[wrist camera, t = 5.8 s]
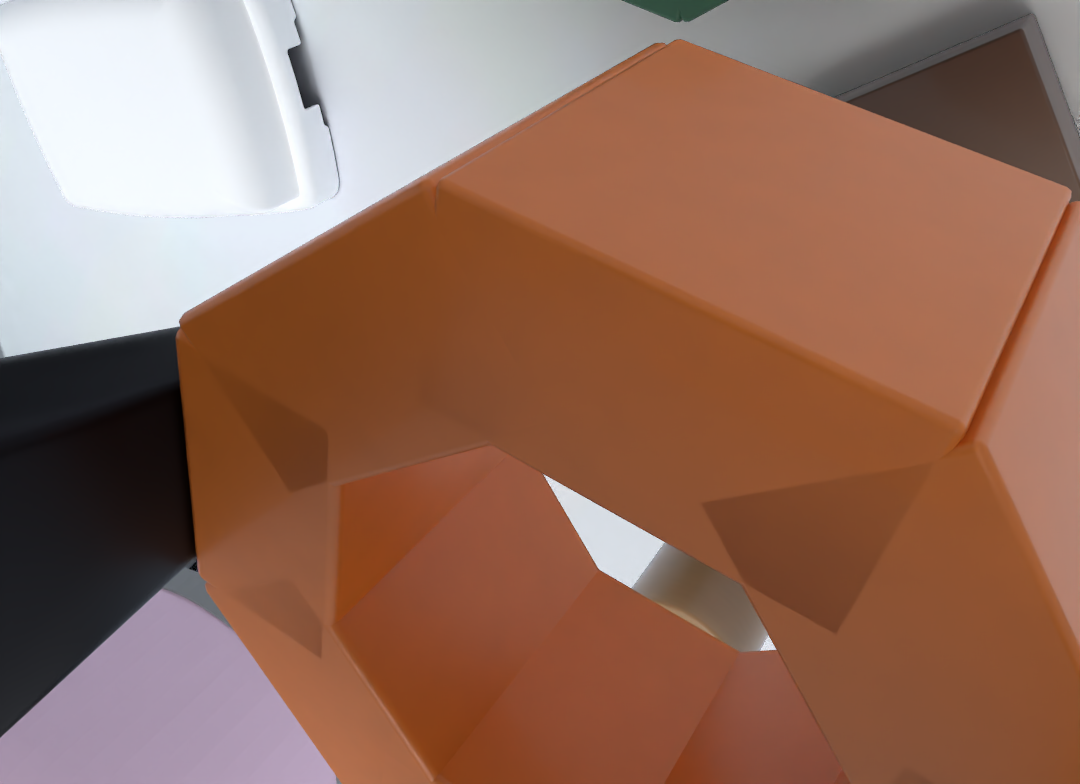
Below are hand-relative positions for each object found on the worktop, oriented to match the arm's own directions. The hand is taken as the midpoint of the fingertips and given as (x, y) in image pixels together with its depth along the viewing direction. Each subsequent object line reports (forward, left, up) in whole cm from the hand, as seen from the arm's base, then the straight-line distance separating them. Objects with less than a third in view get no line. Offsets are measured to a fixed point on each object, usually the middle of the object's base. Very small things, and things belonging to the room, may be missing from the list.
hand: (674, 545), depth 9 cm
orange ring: (0, 0, -1) cm, 1 cm away
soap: (-8, -18, -12) cm, 23 cm away
